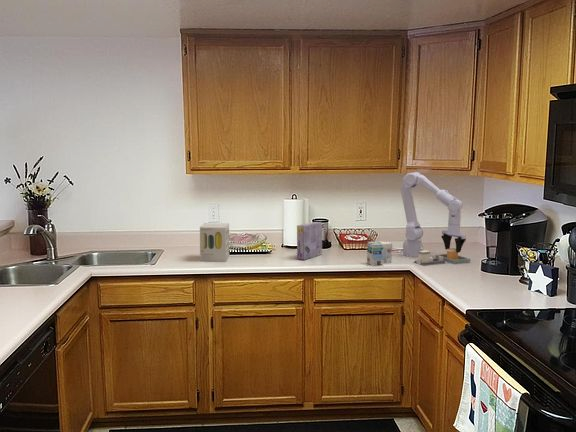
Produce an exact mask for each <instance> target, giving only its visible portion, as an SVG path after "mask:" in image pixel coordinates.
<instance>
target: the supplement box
mask: <svg viewBox="0 0 576 432" xmlns="http://www.w3.org/2000/svg"><path fill="white" fill-rule="evenodd" d="M199 256H200V257H199V259H200V262H211V263H212V262H219V263H221V262H224V263H225V262H227V261H228V259H229V258H230V223H227V222H226V223H224V222H223V223H221V222H219V223H217V222H216V223H215V222H214V223H213V222H212V223H211V222H208V223H207V222H204V223H203V224H202V225H201V226H199Z"/></svg>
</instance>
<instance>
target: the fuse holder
mask: <svg viewBox="0 0 576 432" xmlns="http://www.w3.org/2000/svg"><path fill="white" fill-rule="evenodd" d="M412 263H414V264H417V265H419V266H423V267H426V266H436V265H437V266H438V265H443V264H444V265H446V264H448V262H445V261H443V257H441V256H439V258H437V259H435V258H434V257H431V256H430V262H424V263H421V259H419V258H418V257H416V260H414V261H413V262H412Z"/></svg>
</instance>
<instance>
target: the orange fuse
mask: <svg viewBox="0 0 576 432" xmlns="http://www.w3.org/2000/svg"><path fill="white" fill-rule="evenodd" d="M446 254H447V258H449V259H452V260H458V255H459V252H458V253H457V252H456V247H452V248H451V247H450V249H447V250H446Z"/></svg>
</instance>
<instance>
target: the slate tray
mask: <svg viewBox="0 0 576 432" xmlns="http://www.w3.org/2000/svg"><path fill="white" fill-rule="evenodd" d="M439 256H441V257H443V261H445V263H447V264H452V265H460V264H468V263H471V258H468V257H465V256H461V255H459V254H458V260H452V259H449V258H447V253H444V254H443V253H441V254H435V257H434V259H437V258H439Z"/></svg>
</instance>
